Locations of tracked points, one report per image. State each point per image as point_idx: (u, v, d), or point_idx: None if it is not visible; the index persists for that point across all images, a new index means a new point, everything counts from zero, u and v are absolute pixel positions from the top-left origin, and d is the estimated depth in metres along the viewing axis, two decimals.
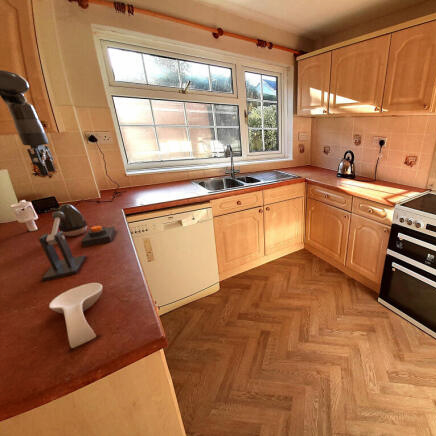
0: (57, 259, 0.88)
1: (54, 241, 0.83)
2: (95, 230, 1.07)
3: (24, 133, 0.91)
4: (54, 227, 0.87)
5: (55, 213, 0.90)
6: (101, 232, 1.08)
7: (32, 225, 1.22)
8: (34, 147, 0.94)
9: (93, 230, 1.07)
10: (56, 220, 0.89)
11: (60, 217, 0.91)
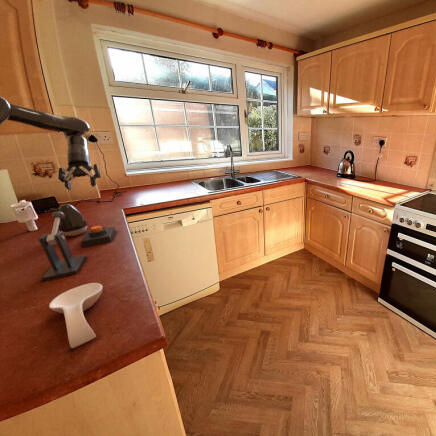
0: (57, 259, 0.88)
1: (54, 241, 0.83)
2: (95, 230, 1.07)
3: (87, 155, 1.11)
4: (54, 227, 0.87)
5: (55, 213, 0.90)
6: (101, 232, 1.08)
7: (32, 225, 1.22)
8: (89, 166, 1.10)
9: (93, 230, 1.07)
10: (56, 220, 0.89)
11: (60, 217, 0.91)
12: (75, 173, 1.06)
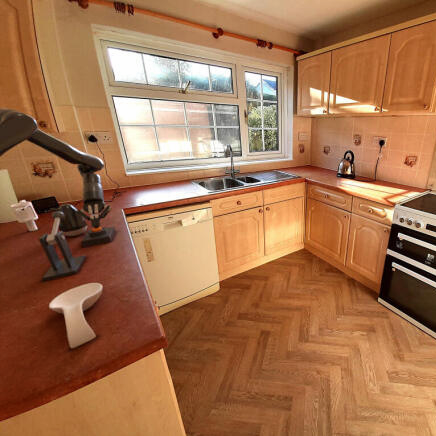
0: (57, 259, 0.88)
1: (54, 241, 0.83)
2: (95, 231, 1.08)
3: (101, 192, 1.15)
4: (54, 227, 0.87)
5: (55, 213, 0.90)
6: (101, 232, 1.08)
7: (32, 225, 1.22)
8: (103, 203, 1.14)
9: (93, 231, 1.08)
10: (56, 220, 0.89)
11: (60, 217, 0.91)
12: None
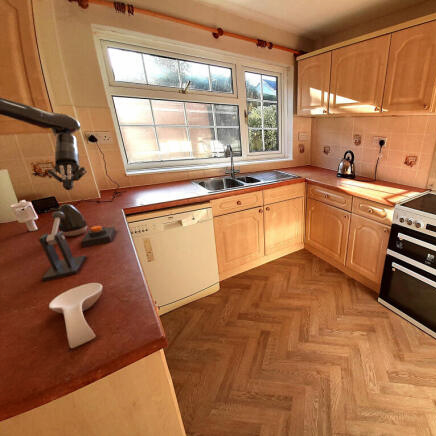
0: (57, 259, 0.88)
1: (54, 241, 0.83)
2: (95, 230, 1.07)
3: (76, 153, 1.06)
4: (54, 227, 0.87)
5: (55, 213, 0.90)
6: (101, 232, 1.08)
7: (32, 225, 1.22)
8: None
9: (93, 230, 1.07)
10: (56, 220, 0.89)
11: (60, 217, 0.91)
12: None
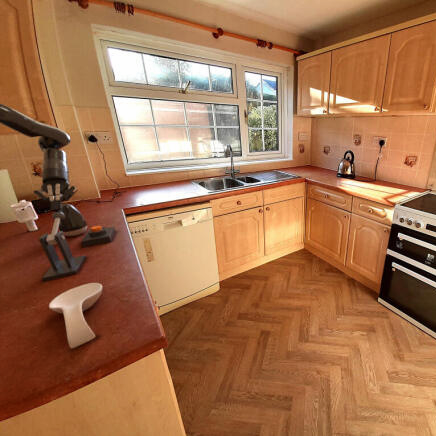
0: (57, 259, 0.88)
1: (54, 241, 0.83)
2: (95, 230, 1.07)
3: (65, 170, 0.97)
4: (54, 227, 0.87)
5: (55, 213, 0.90)
6: (101, 232, 1.08)
7: (32, 225, 1.22)
8: None
9: (93, 230, 1.07)
10: (56, 220, 0.89)
11: (60, 217, 0.91)
12: None
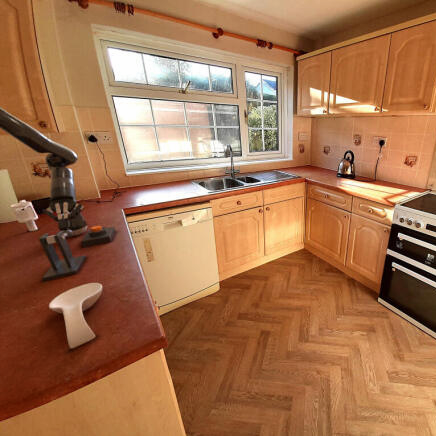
0: (57, 259, 0.88)
1: (53, 239, 0.83)
2: (95, 230, 1.07)
3: (72, 189, 1.00)
4: None
5: (65, 230, 0.94)
6: (101, 232, 1.08)
7: (32, 225, 1.22)
8: None
9: (93, 230, 1.07)
10: (63, 233, 0.92)
11: (68, 233, 0.94)
12: None
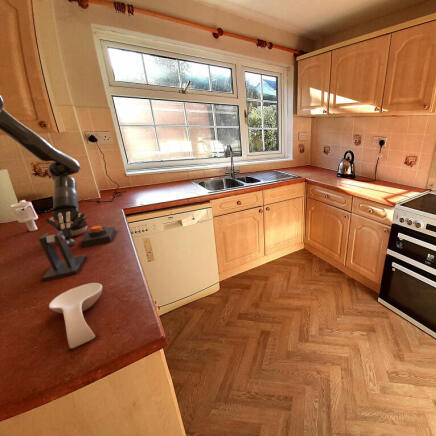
0: (57, 259, 0.88)
1: (53, 237, 0.83)
2: (95, 230, 1.07)
3: (75, 198, 1.00)
4: None
5: (68, 239, 0.95)
6: (101, 232, 1.08)
7: (32, 225, 1.22)
8: (78, 210, 1.00)
9: (93, 230, 1.07)
10: None
11: (70, 242, 0.94)
12: (61, 220, 0.95)
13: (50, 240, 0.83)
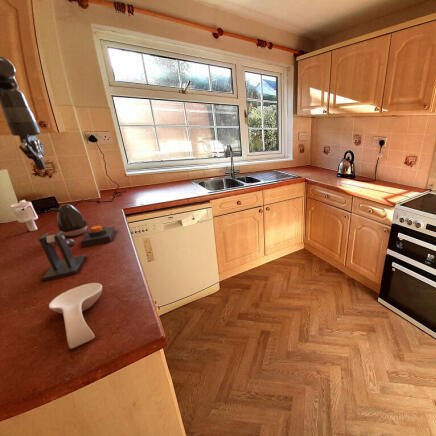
0: (57, 259, 0.88)
1: (53, 237, 0.83)
2: (95, 230, 1.07)
3: (12, 122, 0.84)
4: None
5: (68, 239, 0.95)
6: (101, 232, 1.08)
7: (32, 225, 1.22)
8: (23, 137, 0.86)
9: (93, 230, 1.07)
10: None
11: (70, 242, 0.94)
12: None
13: (50, 240, 0.83)
